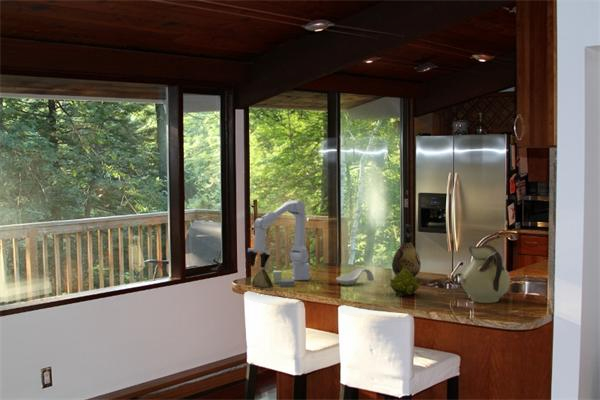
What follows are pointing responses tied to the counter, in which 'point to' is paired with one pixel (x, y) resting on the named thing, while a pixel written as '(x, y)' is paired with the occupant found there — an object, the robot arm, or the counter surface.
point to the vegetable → (404, 283)
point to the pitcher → (485, 275)
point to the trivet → (286, 282)
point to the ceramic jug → (406, 255)
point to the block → (277, 276)
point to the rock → (262, 279)
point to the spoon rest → (353, 277)
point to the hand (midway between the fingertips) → (257, 266)
